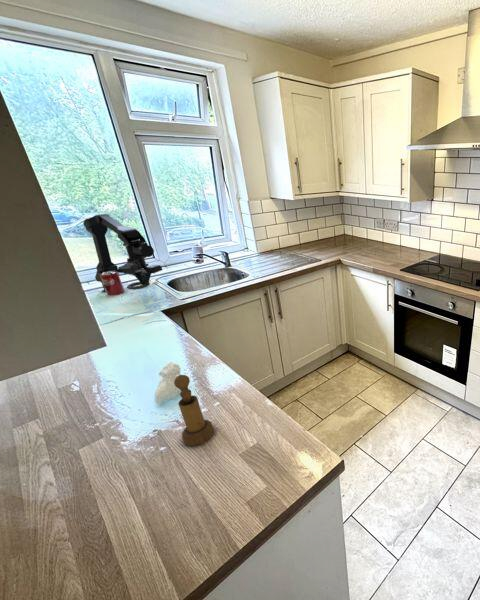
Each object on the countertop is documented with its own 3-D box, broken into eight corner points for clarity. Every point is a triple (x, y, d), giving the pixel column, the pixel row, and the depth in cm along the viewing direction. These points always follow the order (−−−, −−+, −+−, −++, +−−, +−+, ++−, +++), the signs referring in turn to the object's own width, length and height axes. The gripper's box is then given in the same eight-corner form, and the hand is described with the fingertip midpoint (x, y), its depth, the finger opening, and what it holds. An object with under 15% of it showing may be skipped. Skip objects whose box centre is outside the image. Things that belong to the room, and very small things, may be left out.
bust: (167, 414, 93) (185, 384, 91) (138, 404, 90) (156, 373, 88) (183, 388, 104) (200, 361, 102) (157, 378, 101) (174, 350, 99)
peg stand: (130, 288, 183) (126, 275, 180) (143, 282, 191) (139, 270, 188) (145, 288, 182) (141, 275, 179) (157, 283, 191) (153, 270, 188)
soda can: (115, 297, 170) (107, 275, 166) (104, 296, 172) (95, 274, 167) (128, 292, 177) (121, 271, 172) (117, 291, 178) (110, 270, 174)
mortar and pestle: (192, 427, 85) (173, 368, 78) (218, 425, 86) (201, 367, 79) (178, 447, 79) (157, 386, 72) (206, 445, 80) (187, 384, 73)
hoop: (122, 290, 163) (121, 287, 162) (137, 283, 172) (136, 280, 171) (140, 290, 162) (139, 287, 162) (154, 283, 171) (153, 281, 170)
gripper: (103, 259, 154) (114, 290, 159) (140, 259, 152) (150, 291, 158) (123, 253, 164) (133, 282, 170) (158, 253, 163) (167, 283, 169)
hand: (145, 285), depth 166 cm, fingers closed on hoop, 1 cm apart
